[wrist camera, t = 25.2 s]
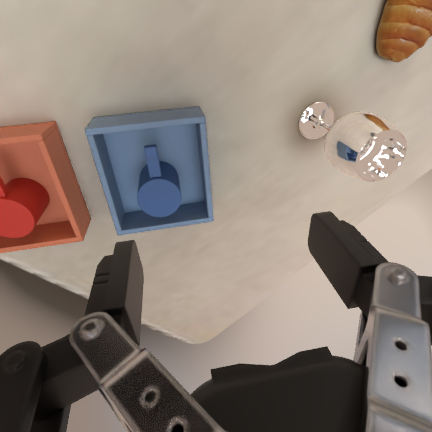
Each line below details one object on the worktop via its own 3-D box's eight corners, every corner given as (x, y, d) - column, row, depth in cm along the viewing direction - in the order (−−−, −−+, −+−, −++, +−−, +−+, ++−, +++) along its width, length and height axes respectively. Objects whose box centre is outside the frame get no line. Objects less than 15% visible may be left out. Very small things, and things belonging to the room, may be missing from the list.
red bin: (-63, 133, 28) (-97, 148, 25) (55, 120, 30) (40, 134, 26) (-4, 232, 35) (-23, 256, 31) (91, 219, 36) (83, 240, 33)
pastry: (403, 68, 33) (429, 72, 30) (356, 48, 31) (379, 49, 28) (460, -33, 29) (498, -41, 25) (410, -64, 27) (444, -78, 23)
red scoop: (55, 210, 34) (41, 234, 30) (14, 215, 34) (-6, 241, 30) (28, 146, 30) (7, 165, 26) (-19, 152, 30) (-48, 171, 25)
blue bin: (93, 117, 30) (84, 129, 26) (199, 106, 31) (205, 116, 28) (121, 214, 37) (117, 235, 33) (208, 202, 38) (213, 221, 34)
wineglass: (285, 138, 35) (336, 180, 25) (306, 88, 32) (373, 114, 22) (324, 149, 37) (387, 192, 27) (347, 103, 34) (427, 133, 24)
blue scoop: (181, 193, 36) (184, 214, 32) (143, 198, 35) (141, 220, 31) (171, 130, 32) (174, 145, 28) (129, 135, 31) (125, 151, 27)
